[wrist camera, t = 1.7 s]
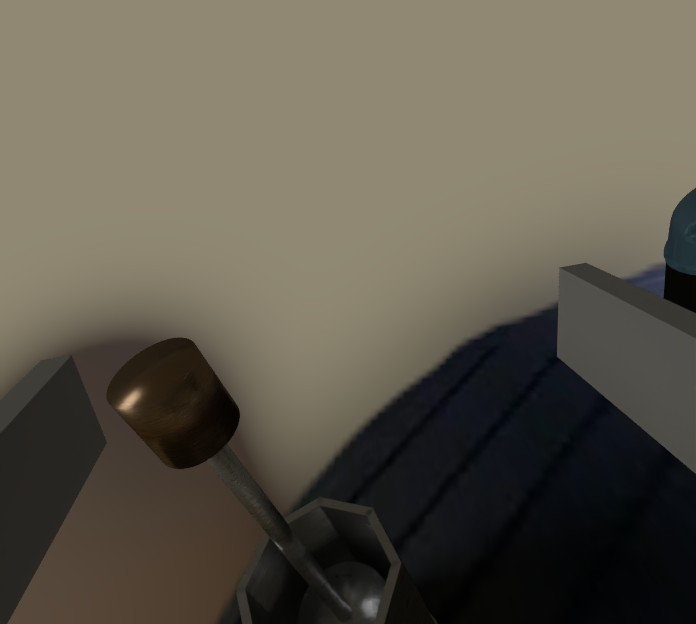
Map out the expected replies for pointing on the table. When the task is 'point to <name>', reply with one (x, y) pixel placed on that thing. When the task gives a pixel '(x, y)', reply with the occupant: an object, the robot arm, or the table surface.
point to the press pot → (328, 549)
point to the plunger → (229, 466)
